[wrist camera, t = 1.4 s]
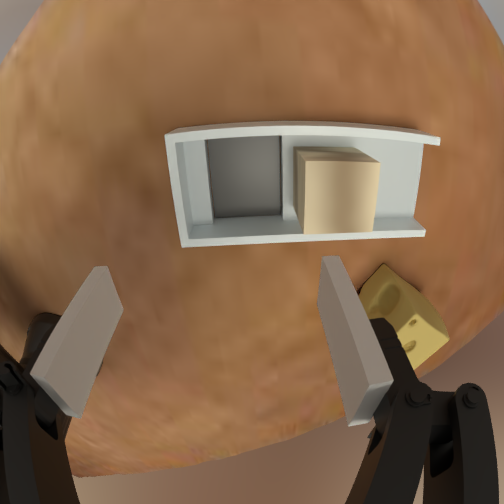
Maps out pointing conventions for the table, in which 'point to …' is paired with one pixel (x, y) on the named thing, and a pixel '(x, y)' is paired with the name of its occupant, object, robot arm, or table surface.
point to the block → (334, 189)
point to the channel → (282, 179)
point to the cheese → (404, 314)
